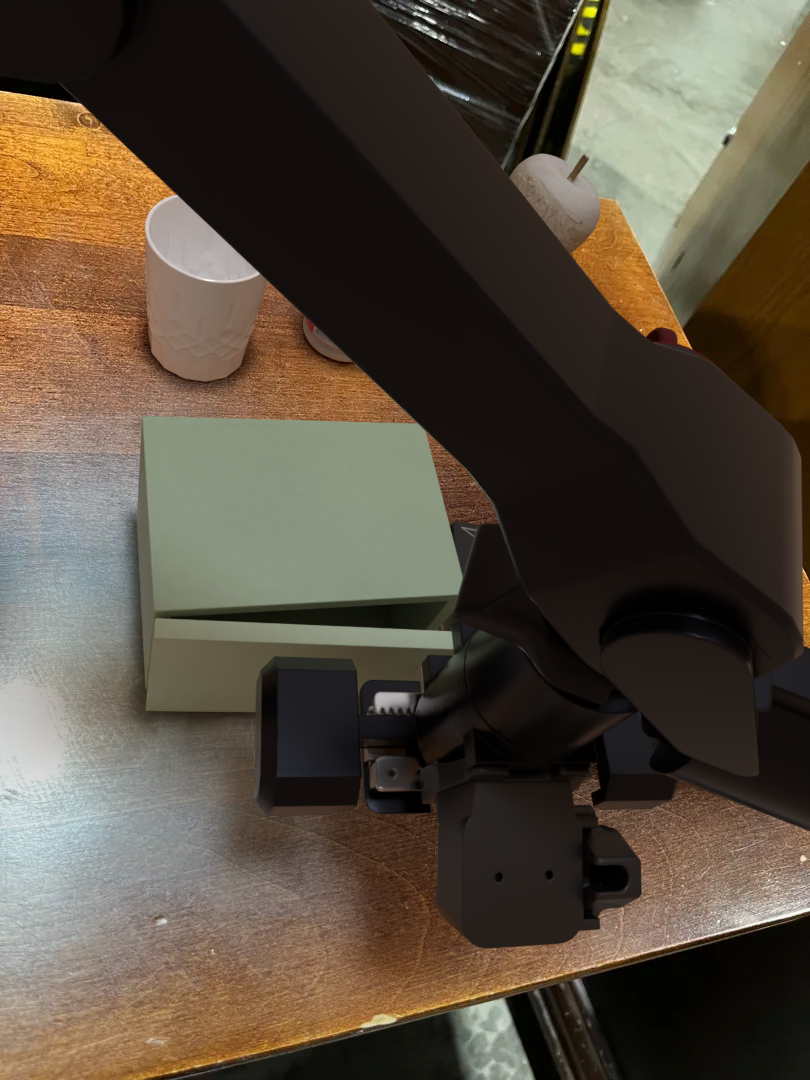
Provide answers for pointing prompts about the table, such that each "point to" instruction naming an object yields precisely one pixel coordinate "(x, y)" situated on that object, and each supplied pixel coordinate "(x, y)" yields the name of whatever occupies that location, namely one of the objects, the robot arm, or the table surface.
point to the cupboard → (292, 525)
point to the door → (245, 648)
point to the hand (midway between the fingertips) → (418, 781)
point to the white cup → (197, 294)
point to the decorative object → (560, 196)
